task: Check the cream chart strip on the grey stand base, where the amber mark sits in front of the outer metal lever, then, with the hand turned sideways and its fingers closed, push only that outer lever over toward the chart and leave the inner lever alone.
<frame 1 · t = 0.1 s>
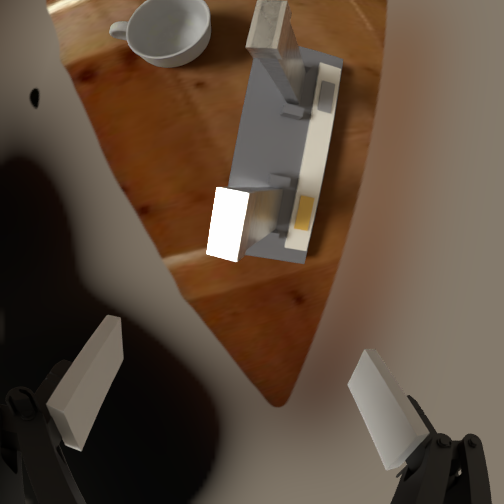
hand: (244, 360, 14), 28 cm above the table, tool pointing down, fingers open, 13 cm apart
lever inner: (286, 63, 24), point 12 cm above the table, hinge at 20.0°
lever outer: (257, 213, 28), point 12 cm above the table, hinge at 20.0°
teacup: (168, 43, 31), on the table
grey stand base: (280, 147, 37), on the table
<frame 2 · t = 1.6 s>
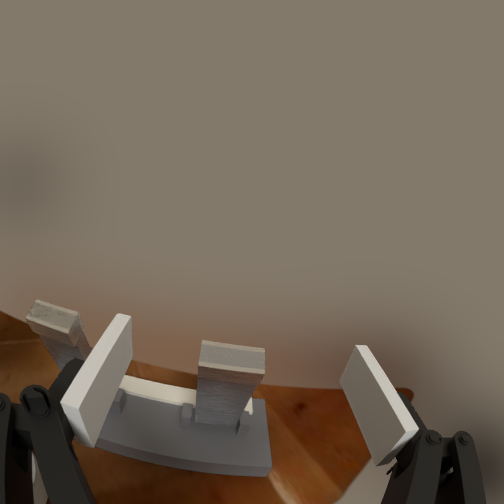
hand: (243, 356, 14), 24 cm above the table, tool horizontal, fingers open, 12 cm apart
lever inner: (76, 363, 24), point 12 cm above the table, hinge at 20.0°
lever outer: (221, 397, 26), point 12 cm above the table, hinge at 20.0°
teacup: (15, 497, 11), on the table
grey stand base: (153, 427, 31), on the table
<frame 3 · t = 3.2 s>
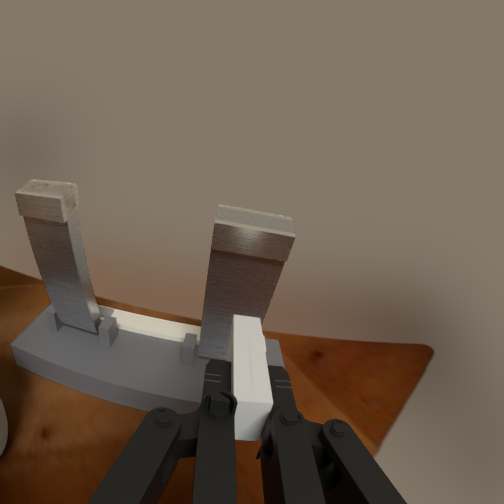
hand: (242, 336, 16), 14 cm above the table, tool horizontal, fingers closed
lever inner: (63, 271, 21), point 12 cm above the table, hinge at 20.0°
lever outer: (234, 306, 23), point 12 cm above the table, hinge at 20.0°
grey stand base: (147, 370, 28), on the table
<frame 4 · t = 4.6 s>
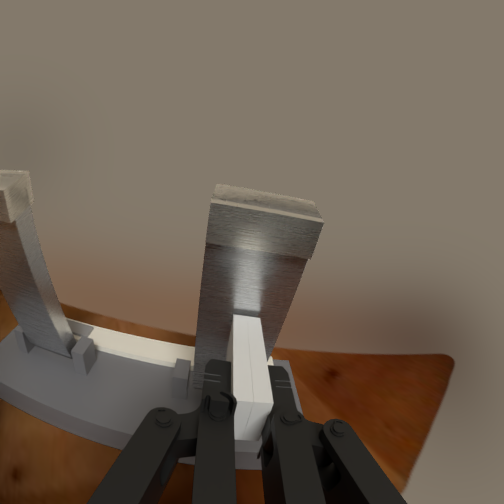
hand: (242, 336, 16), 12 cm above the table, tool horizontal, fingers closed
lever inner: (23, 284, 15), point 12 cm above the table, hinge at 20.0°
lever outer: (237, 324, 17), point 12 cm above the table, hinge at 16.0°, touching gripper
grey stand base: (133, 400, 22), on the table
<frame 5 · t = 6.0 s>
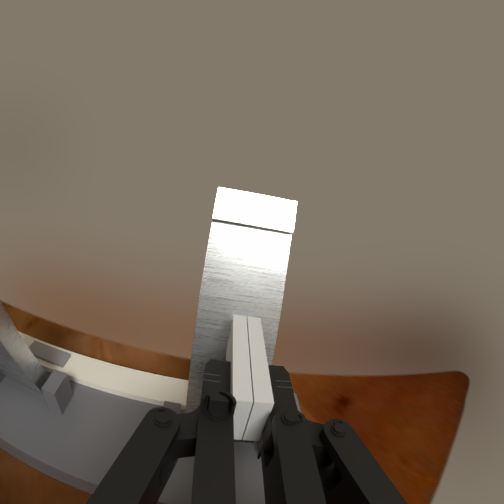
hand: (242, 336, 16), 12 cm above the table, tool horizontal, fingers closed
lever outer: (235, 328, 17), point 11 cm above the table, hinge at -23.6°, touching gripper
grey stand base: (117, 440, 17), on the table
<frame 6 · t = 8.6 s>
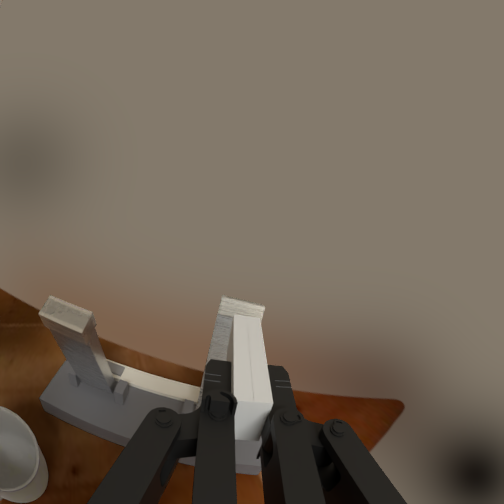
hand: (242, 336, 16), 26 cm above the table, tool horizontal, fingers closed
lever inner: (84, 357, 26), point 12 cm above the table, hinge at 20.0°
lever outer: (226, 366, 32), point 11 cm above the table, hinge at -23.7°
teacup: (14, 481, 13), on the table
grey stand base: (152, 419, 32), on the table
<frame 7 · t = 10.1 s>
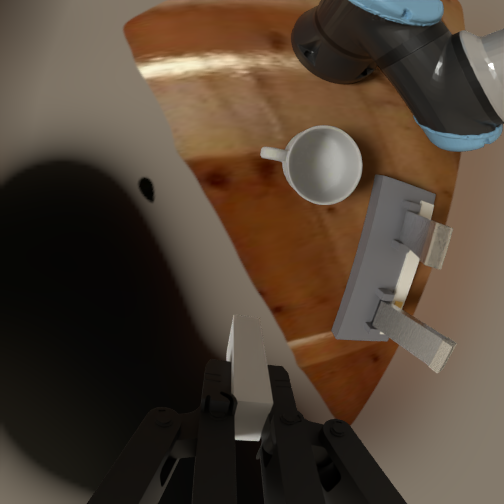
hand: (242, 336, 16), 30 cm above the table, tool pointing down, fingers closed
lever inner: (419, 234, 35), point 12 cm above the table, hinge at 20.0°
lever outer: (410, 333, 40), point 11 cm above the table, hinge at -23.7°
teacup: (302, 160, 43), on the table
grey stand base: (382, 262, 48), on the table
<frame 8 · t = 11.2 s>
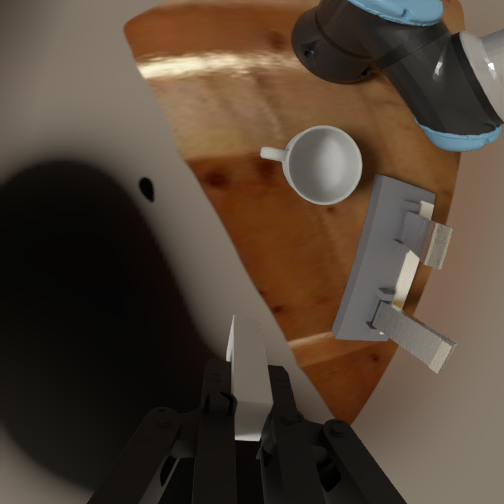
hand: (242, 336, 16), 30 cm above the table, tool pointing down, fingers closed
lever inner: (419, 234, 35), point 12 cm above the table, hinge at 20.0°
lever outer: (410, 333, 40), point 11 cm above the table, hinge at -23.7°
teacup: (302, 160, 43), on the table
grey stand base: (382, 262, 48), on the table
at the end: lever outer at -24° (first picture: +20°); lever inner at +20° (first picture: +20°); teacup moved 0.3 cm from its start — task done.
